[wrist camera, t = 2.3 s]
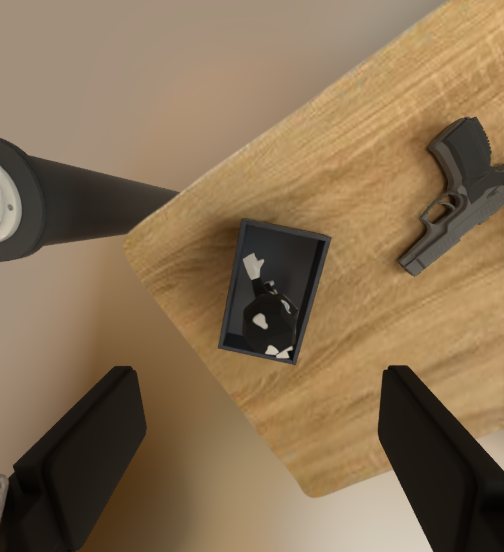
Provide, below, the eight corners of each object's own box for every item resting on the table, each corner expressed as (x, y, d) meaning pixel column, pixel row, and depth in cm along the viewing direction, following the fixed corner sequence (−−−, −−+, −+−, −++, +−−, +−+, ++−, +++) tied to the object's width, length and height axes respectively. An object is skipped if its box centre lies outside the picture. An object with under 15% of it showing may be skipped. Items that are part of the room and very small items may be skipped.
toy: (303, 323, 37) (324, 392, 23) (264, 333, 38) (261, 406, 24) (276, 237, 35) (281, 255, 20) (236, 251, 35) (212, 277, 21)
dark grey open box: (223, 333, 39) (217, 348, 35) (245, 218, 35) (241, 218, 30) (292, 348, 39) (295, 365, 35) (323, 234, 34) (331, 237, 30)
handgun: (356, 217, 31) (420, 281, 33) (476, 103, 27) (545, 182, 28) (350, 216, 35) (408, 274, 36) (456, 114, 30) (519, 184, 31)
